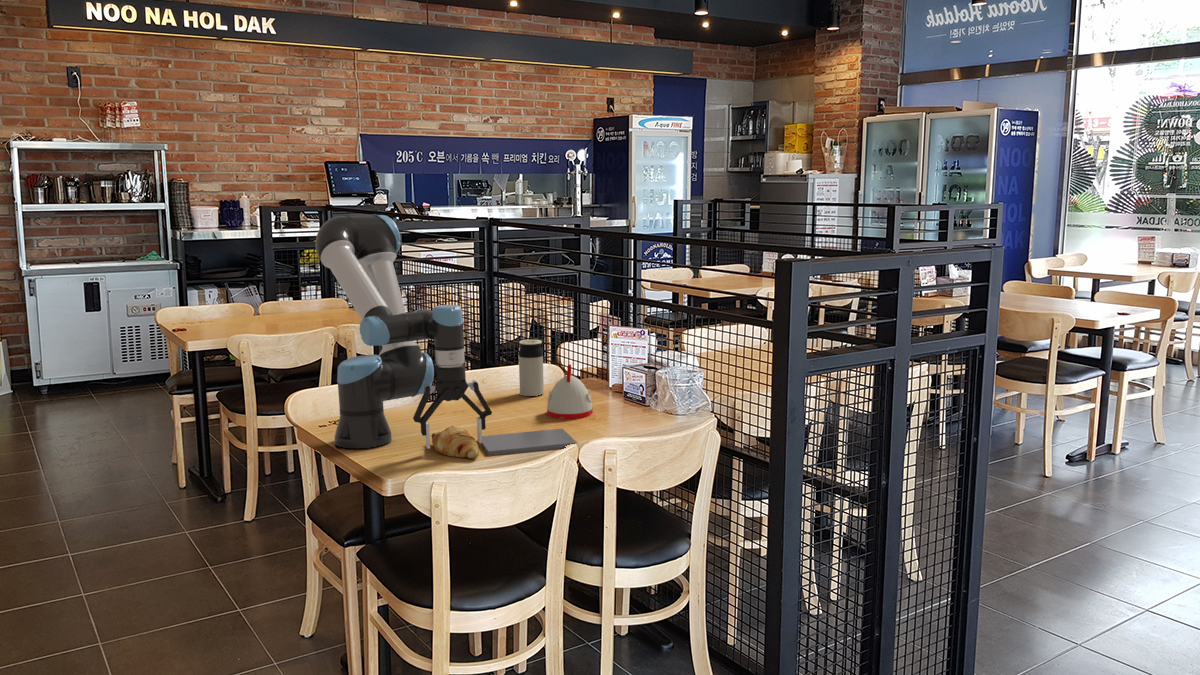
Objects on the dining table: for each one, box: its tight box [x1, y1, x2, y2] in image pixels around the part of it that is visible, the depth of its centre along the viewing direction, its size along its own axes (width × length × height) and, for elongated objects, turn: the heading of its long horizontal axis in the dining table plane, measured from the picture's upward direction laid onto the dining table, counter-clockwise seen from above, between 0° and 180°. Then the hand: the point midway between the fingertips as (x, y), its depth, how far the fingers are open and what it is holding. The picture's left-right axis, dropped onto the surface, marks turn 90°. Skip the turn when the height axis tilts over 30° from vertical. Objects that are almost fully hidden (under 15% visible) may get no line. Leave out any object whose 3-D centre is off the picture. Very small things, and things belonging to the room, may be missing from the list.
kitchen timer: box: [546, 364, 594, 420], centre depth 278 cm, size 14×14×15 cm
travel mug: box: [518, 339, 545, 397], centre depth 304 cm, size 8×8×18 cm
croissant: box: [431, 425, 480, 459], centre depth 240 cm, size 21×10×8 cm, turn 42°
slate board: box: [479, 428, 578, 457], centre depth 247 cm, size 24×15×2 cm, turn 108°
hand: (454, 444), depth 240 cm, fingers open, 13 cm apart
